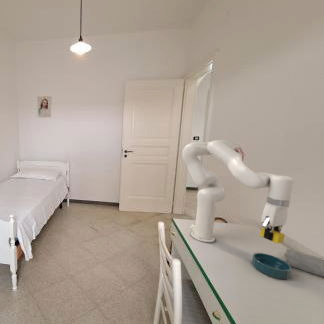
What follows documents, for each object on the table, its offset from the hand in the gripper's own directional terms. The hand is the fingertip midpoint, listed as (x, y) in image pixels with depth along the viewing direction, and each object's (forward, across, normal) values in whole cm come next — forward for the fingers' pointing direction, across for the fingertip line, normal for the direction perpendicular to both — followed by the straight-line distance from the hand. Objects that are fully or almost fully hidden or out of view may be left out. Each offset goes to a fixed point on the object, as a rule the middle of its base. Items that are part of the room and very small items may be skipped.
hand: (271, 238), depth 98 cm
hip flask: (+13, -18, -1) cm, 22 cm away
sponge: (0, 0, 0) cm, 0 cm away
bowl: (+15, +1, +2) cm, 15 cm away
